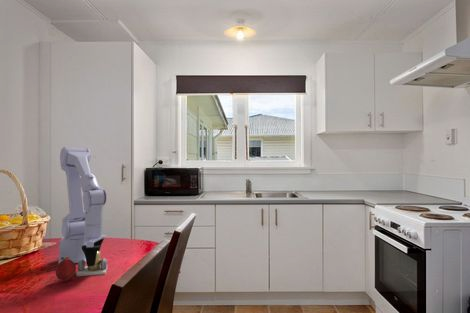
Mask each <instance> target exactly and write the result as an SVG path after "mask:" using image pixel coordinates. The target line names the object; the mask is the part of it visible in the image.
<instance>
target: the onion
mask: <svg viewBox="0 0 470 313" xmlns="http://www.w3.org/2000/svg"><path fill="white" fill-rule="evenodd" d="M58 263H59V262H58ZM58 263H57V265H56V267H55V276H56V277H57V279H59V280H60V281H63V282H68V281H69V280H70V279H71V278H72V277H73V276H74V275H75V273H77V265H76V263H74V262H73V261H71V260H69V257H68V256H67V257H65V258H64V259H63V260H62V261H61V262H60V263H59V264H58Z"/></svg>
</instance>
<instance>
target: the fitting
mask: <svg viewBox="0 0 470 313" xmlns="http://www.w3.org/2000/svg"><path fill="white" fill-rule="evenodd" d="M107 270H108V259H107V258H105V257H103V258H101V263H100V269H99V270H97V271H88V266H87V265H86V262H85V260H83V259H81V261H79V262H78V263H77V271H76V277H83V276H84V277H85V276H95V275H96V276H98V275H106V272H107Z"/></svg>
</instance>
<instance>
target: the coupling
mask: <svg viewBox="0 0 470 313" xmlns="http://www.w3.org/2000/svg"><path fill="white" fill-rule="evenodd" d="M101 255H102V254H101V250H100V251H98V252H97V255H96V261H95V265H94V266H89V267H88V271H97V270H99V269H100V264H101V259H102V257H101Z"/></svg>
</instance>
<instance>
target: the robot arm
mask: <svg viewBox="0 0 470 313" xmlns="http://www.w3.org/2000/svg"><path fill="white" fill-rule="evenodd" d="M90 150H91V149H89V148H88V147H83V148H81V147H65V146H63V147H62V148H61V150H60V152H59V153H60V155H59V161H60V162H59V163H60V168H61V170H62V171H64V172H65V176H66V186H67V188H66V189H67V197H68V208H69V209H68V210H69V212H68V213H67V214H66V215H65V216H64V217H63V218H62V221H61V222H62V223H61V234H62V237H61V239H60V240H59V247H58V263H57V265H58V264H59V263H60V262H61V261H62V260H63V259H64V258H65V257H67V256H68V257H69V260H71V261H73V262H74V264H78V262H79V261H81V259H83V260H85V263H86V266H88V267H89V266H94V265H95V261H96V255H97V252H98V251H101V247H102V244H103V243H104V242H103V241H104V240H105V239H106V238H107V235H105V234H103V227H104V224H103V223H104V221H103V220H104V205H106V203H107V192H106V189H105V188H103V187H101V186H100V185H99V182H98V179H97V177H96V175H94V174H93V173H92V172H91V168H90V161H91V151H90ZM82 193H83V196H82Z"/></svg>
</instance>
